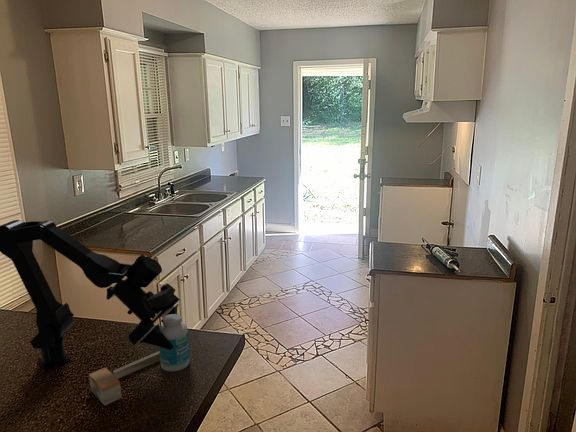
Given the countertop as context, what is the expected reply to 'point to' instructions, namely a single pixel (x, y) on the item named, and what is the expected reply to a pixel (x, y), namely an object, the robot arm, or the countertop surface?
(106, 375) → the block
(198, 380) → the countertop surface
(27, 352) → the countertop surface
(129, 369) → the rail
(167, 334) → the pill bottle
